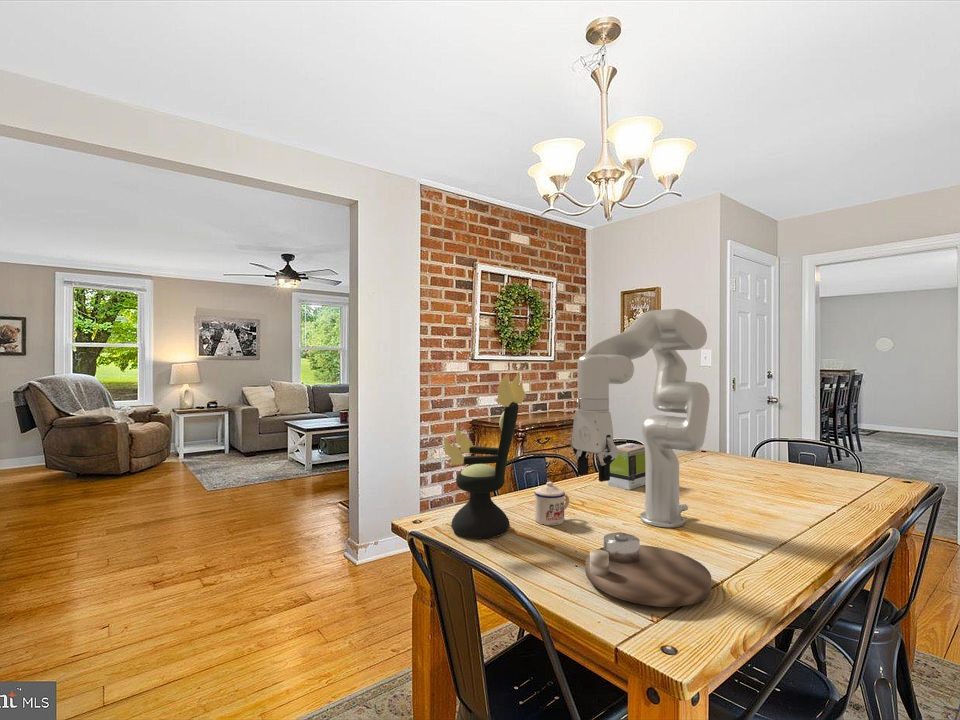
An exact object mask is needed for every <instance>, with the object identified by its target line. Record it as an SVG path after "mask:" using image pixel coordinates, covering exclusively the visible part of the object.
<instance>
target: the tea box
mask: <svg viewBox="0 0 960 720" xmlns="http://www.w3.org/2000/svg"><path fill="white" fill-rule="evenodd" d="M616 447H617V448H618V450H619V454H618V455H617V456H616V457H615V459H614V460H613V461H612V464H610V480H609V481H607V485H608V486H610V487H614V488H618V489H624V490H628V491H631V490H633V489H636V488H640V487H642V486H645V446H644V444H638V443H630V442H627V443H623V444H620V445H619V444H618V445H616ZM609 453H610V452H609Z"/></svg>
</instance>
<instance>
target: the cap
mask: <svg viewBox="0 0 960 720" xmlns="http://www.w3.org/2000/svg"><path fill="white" fill-rule="evenodd" d="M640 545H641V543H640V539H639V538H638V537H637V536H635V535H632V534H629V533H626V532H611V533H610V532H609V533H606V534H605V535H604V536H603V547H604V551H606V552H608V553H609V560H610V561H613V562H617V563H625V564H628V563H635V562H637V561H639V559H640Z"/></svg>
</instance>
